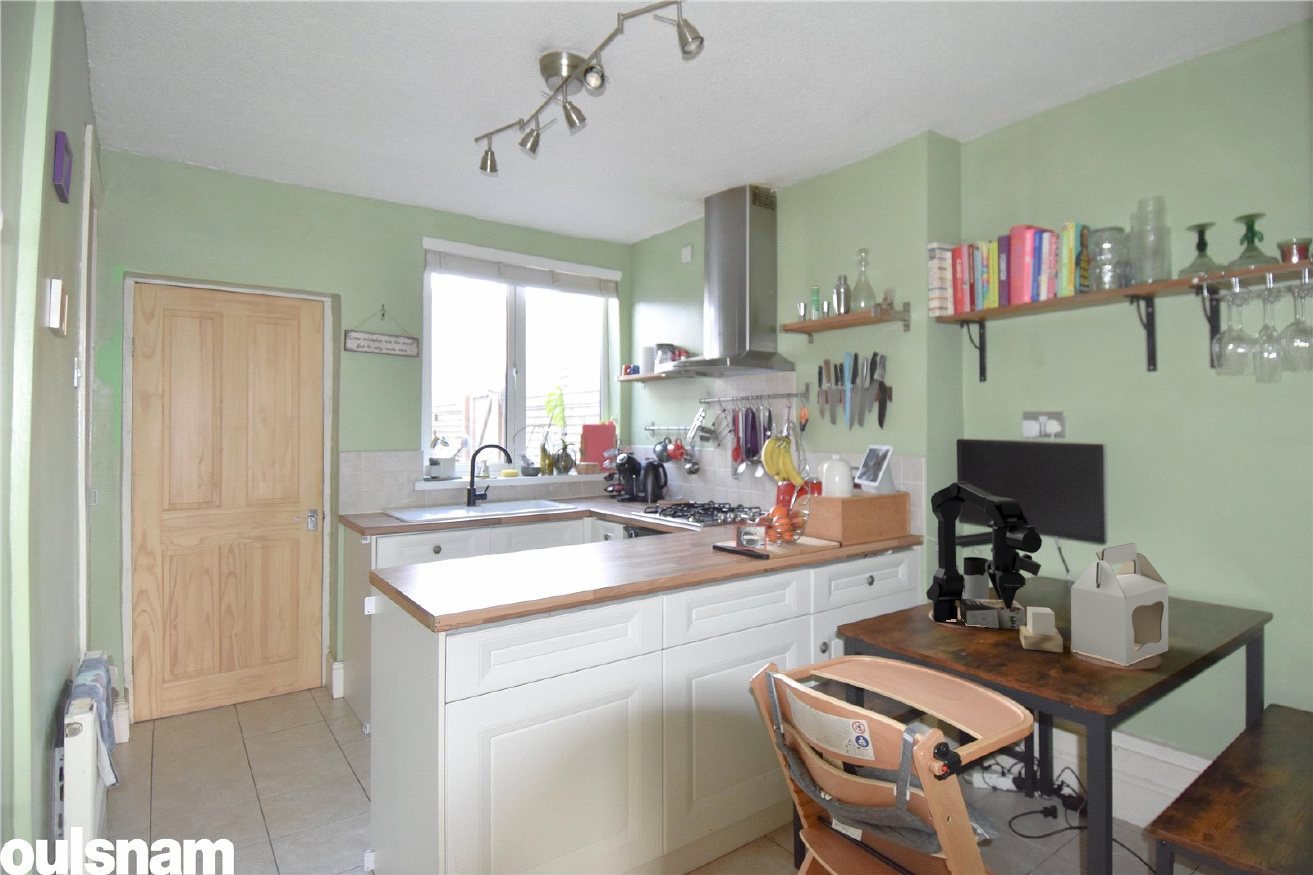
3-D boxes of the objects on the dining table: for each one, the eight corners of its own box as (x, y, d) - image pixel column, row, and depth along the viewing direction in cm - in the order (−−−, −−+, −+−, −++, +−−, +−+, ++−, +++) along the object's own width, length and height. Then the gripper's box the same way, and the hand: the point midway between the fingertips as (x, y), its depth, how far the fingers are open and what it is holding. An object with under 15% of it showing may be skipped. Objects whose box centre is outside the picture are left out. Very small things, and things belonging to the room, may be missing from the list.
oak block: (1024, 650, 179) (1024, 635, 179) (1019, 639, 188) (1019, 625, 188) (1062, 653, 176) (1062, 638, 176) (1056, 643, 184) (1056, 628, 184)
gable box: (1114, 637, 187) (1114, 538, 187) (1169, 650, 176) (1169, 545, 175) (1070, 652, 176) (1069, 546, 176) (1125, 667, 165) (1125, 554, 164)
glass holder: (991, 608, 218) (991, 562, 217) (944, 604, 223) (943, 559, 223) (989, 601, 226) (989, 557, 225) (943, 597, 231) (943, 554, 231)
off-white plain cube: (1032, 634, 180) (1032, 612, 180) (1026, 628, 185) (1026, 606, 185) (1054, 635, 178) (1054, 613, 178) (1048, 629, 184) (1048, 607, 184)
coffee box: (1025, 608, 195) (966, 606, 198) (1025, 630, 195) (966, 627, 198) (1015, 599, 204) (958, 597, 207) (1015, 620, 204) (958, 618, 207)
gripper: (1048, 554, 168) (1048, 615, 168) (1028, 541, 186) (1028, 596, 186) (999, 552, 171) (999, 613, 171) (984, 539, 189) (985, 594, 189)
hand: (1004, 604), depth 179 cm, fingers open, 9 cm apart
